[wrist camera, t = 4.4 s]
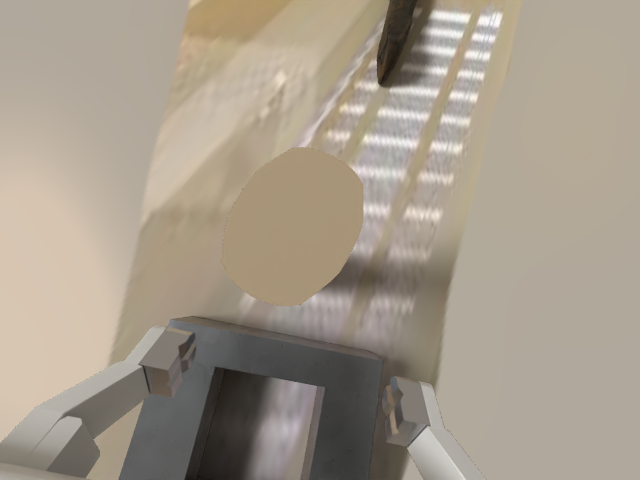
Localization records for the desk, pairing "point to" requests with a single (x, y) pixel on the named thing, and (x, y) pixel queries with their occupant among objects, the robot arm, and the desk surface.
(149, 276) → the desk surface
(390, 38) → the hand tool
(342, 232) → the handle
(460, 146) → the desk surface
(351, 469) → the jig
